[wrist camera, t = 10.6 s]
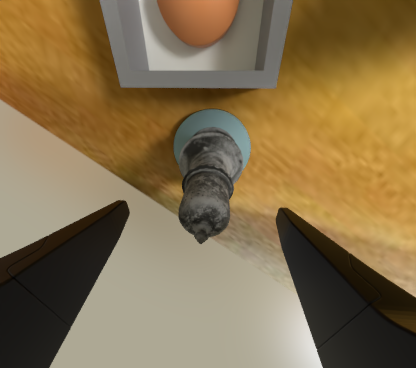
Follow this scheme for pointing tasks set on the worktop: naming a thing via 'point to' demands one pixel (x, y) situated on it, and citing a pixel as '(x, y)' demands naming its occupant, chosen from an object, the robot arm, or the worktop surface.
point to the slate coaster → (213, 120)
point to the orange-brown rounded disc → (199, 19)
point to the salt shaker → (208, 181)
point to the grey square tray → (196, 57)
